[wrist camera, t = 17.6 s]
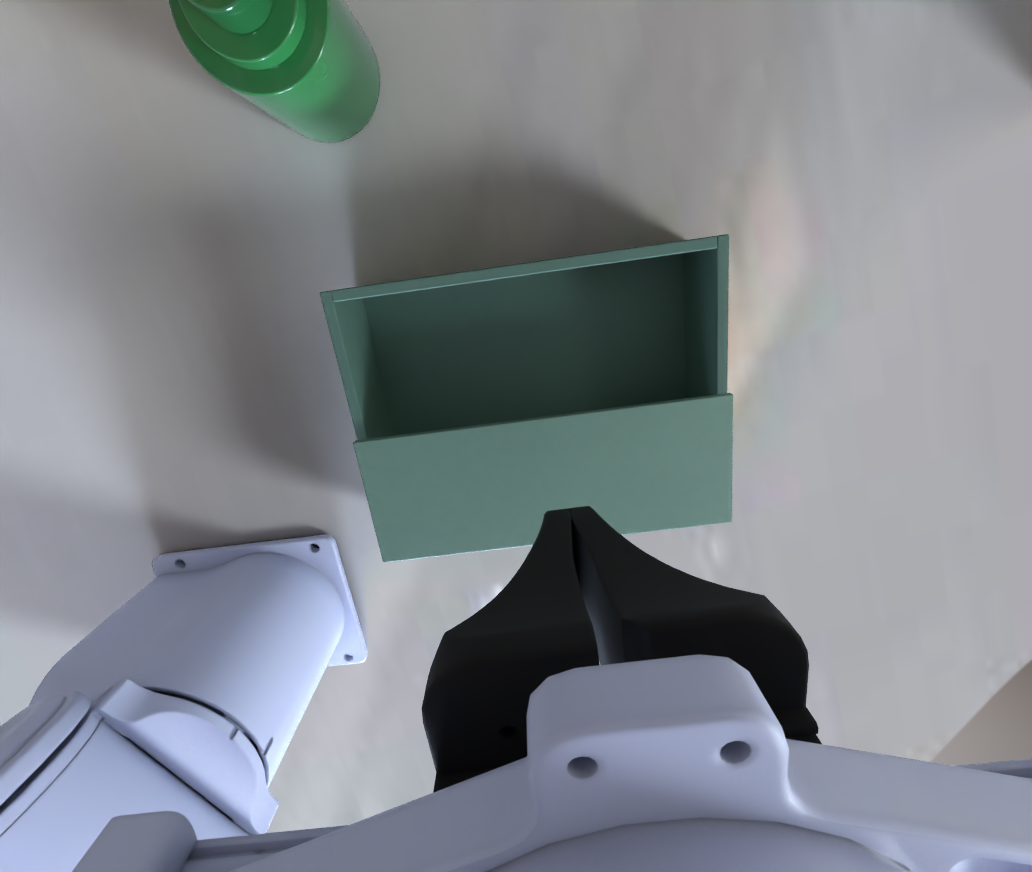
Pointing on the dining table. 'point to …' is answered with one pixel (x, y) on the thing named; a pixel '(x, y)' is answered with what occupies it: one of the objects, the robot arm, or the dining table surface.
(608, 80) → the dining table surface
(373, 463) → the flap
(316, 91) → the bottle
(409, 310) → the case
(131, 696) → the robot arm
